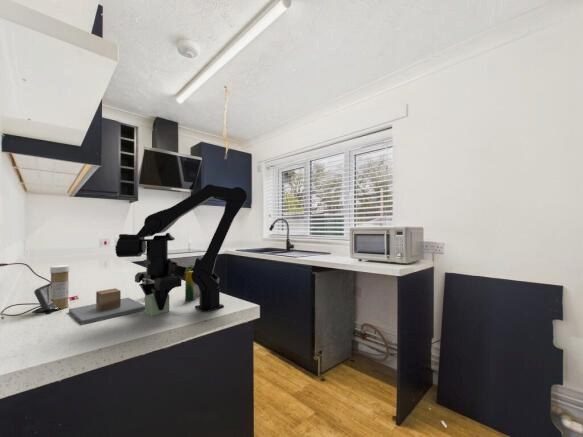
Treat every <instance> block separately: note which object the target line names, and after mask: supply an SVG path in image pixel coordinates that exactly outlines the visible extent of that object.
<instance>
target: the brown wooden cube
mask: <svg viewBox="0 0 583 437" xmlns="http://www.w3.org/2000/svg"><path fill="white" fill-rule="evenodd" d="M121 292H122V291H121V290H120V289H118V288H116V287H115V288H109V289H108V288H107V289H103V290H97V291H96V293H95V294H96V295H95V298H96V299H95V300H96V301H95V304H96V308H97V309H98V310H100V311H104V310H109V309H114V308H119V307H120V302H121V299H122V298H121V297H122V296H121Z"/></svg>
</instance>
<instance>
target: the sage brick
mask: <svg viewBox="0 0 583 437" xmlns="http://www.w3.org/2000/svg"><path fill="white" fill-rule="evenodd" d="M144 305H145V310H144V313H145V314H147V315H149V316H151V317H152V316H157V315H160V314H161V315H162V314H165V313H168V312H169V313H170V294H168V296H167V299H166V302H165V306H164V309H163V310H159V309H158V307H157V304H156V301H155V298H154V295H153V294H150V295H145V294H144Z"/></svg>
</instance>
